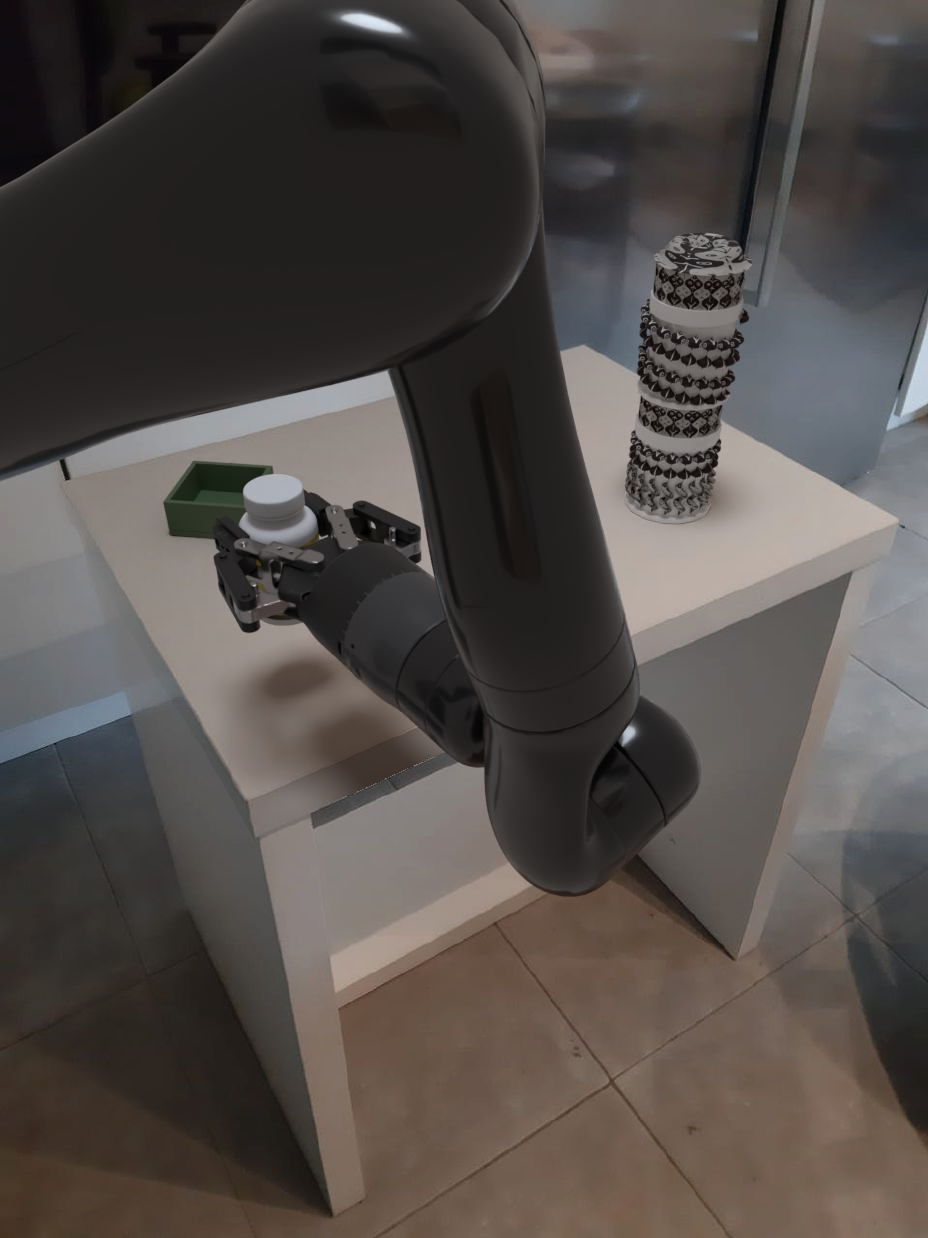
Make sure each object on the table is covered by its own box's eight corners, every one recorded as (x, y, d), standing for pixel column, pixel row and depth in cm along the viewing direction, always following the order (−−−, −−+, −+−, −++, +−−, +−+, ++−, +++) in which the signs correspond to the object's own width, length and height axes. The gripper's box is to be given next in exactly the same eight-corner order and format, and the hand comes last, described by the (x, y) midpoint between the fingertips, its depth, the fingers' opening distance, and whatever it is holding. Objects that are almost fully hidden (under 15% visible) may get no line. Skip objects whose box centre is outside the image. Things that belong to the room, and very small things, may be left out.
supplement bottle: (245, 591, 73) (227, 474, 67) (318, 580, 74) (306, 463, 68) (255, 634, 68) (237, 513, 63) (332, 621, 70) (321, 500, 64)
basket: (252, 541, 91) (247, 507, 89) (169, 535, 92) (162, 501, 89) (276, 497, 97) (272, 465, 95) (199, 492, 98) (193, 460, 96)
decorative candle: (649, 469, 102) (682, 218, 87) (730, 497, 97) (780, 238, 82) (601, 504, 96) (627, 242, 81) (686, 536, 92) (730, 265, 76)
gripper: (493, 536, 60) (342, 437, 70) (287, 625, 52) (153, 499, 63) (491, 634, 64) (349, 526, 75) (301, 728, 57) (173, 594, 67)
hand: (260, 514), depth 69 cm, fingers closed on supplement bottle, 5 cm apart
